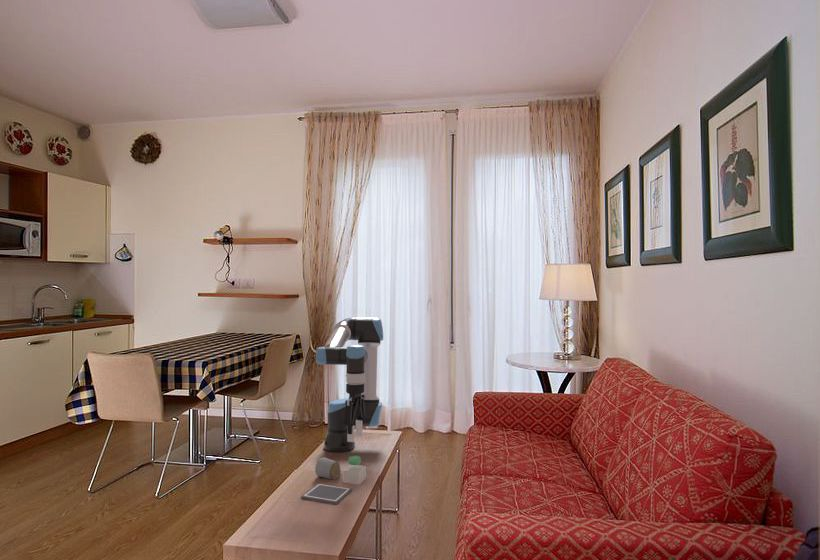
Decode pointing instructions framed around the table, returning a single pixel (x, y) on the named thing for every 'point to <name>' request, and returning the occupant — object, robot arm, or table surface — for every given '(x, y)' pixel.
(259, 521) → the table surface
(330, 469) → the ceramic mug
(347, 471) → the button box
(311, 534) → the table surface
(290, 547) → the table surface
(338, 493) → the mat
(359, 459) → the button
